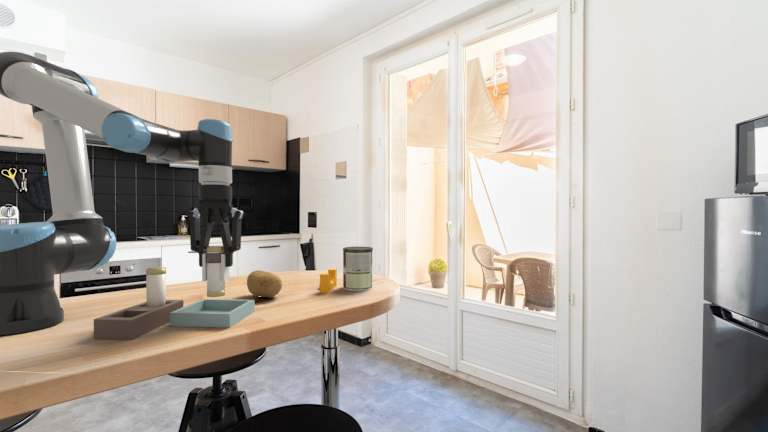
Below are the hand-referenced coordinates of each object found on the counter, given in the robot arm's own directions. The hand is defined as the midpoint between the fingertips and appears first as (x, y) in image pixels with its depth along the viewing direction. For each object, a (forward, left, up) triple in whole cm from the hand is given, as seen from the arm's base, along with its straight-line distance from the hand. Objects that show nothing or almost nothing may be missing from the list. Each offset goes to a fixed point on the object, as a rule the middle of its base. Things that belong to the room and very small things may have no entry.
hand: (216, 279), depth 93 cm
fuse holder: (-13, -7, -9) cm, 18 cm away
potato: (+3, +23, -10) cm, 25 cm away
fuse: (-13, -3, -9) cm, 16 cm away
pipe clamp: (+19, +37, -10) cm, 43 cm away
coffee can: (+30, +40, -10) cm, 51 cm away
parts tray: (0, 0, -9) cm, 9 cm away
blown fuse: (0, 0, -4) cm, 4 cm away
